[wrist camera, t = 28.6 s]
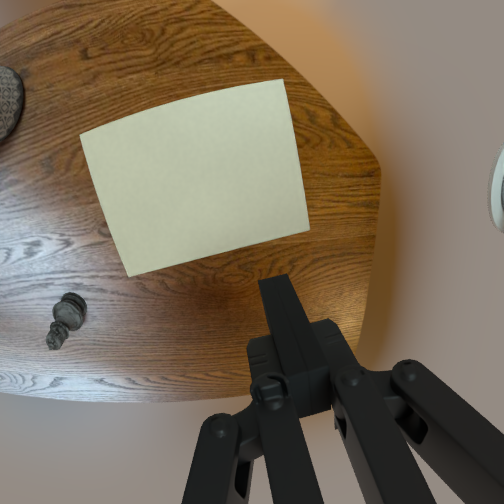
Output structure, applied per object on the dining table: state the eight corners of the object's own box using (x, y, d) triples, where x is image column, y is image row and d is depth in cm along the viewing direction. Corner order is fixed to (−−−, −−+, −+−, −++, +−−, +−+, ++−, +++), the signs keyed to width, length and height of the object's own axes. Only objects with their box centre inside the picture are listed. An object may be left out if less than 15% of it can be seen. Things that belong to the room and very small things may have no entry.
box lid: (130, 273, 30) (128, 277, 30) (82, 134, 24) (79, 134, 23) (307, 227, 31) (310, 230, 31) (281, 79, 25) (283, 78, 24)
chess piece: (93, 304, 47) (72, 350, 36) (80, 324, 48) (59, 369, 38) (66, 284, 45) (39, 327, 34) (55, 305, 46) (29, 348, 35)
